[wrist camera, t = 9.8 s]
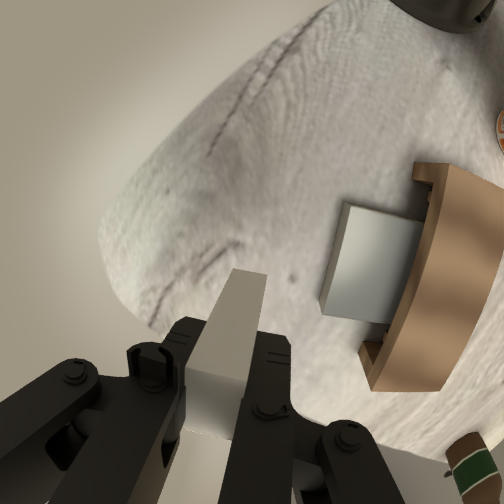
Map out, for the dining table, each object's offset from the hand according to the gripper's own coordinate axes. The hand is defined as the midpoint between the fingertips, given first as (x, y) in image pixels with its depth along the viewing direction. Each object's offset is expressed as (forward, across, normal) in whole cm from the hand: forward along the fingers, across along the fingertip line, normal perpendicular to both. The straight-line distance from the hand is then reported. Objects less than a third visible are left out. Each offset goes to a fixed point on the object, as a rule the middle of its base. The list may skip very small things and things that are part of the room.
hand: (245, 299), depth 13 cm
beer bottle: (+12, +42, -30) cm, 54 cm away
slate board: (+13, +11, -1) cm, 17 cm away
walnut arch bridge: (+12, +16, -1) cm, 20 cm away
